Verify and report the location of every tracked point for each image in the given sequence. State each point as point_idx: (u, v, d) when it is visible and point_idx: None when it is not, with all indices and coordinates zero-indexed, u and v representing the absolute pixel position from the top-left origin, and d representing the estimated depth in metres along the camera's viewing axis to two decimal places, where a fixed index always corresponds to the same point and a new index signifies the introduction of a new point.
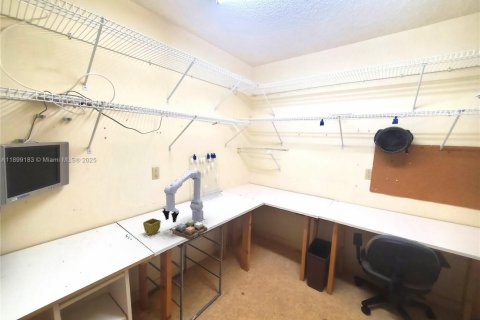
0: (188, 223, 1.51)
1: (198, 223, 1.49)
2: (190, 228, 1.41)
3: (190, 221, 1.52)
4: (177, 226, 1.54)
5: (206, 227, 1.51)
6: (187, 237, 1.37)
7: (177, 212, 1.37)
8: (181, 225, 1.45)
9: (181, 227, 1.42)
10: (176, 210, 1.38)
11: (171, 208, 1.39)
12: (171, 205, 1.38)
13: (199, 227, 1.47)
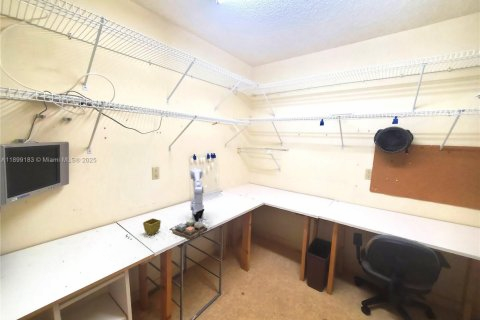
0: (188, 223, 1.51)
1: (198, 223, 1.49)
2: (190, 228, 1.41)
3: (190, 221, 1.52)
4: (177, 226, 1.54)
5: (206, 227, 1.51)
6: (187, 237, 1.37)
7: (193, 213, 1.41)
8: (181, 225, 1.45)
9: (181, 227, 1.42)
10: (194, 211, 1.42)
11: (195, 208, 1.45)
12: (195, 205, 1.45)
13: (199, 227, 1.47)
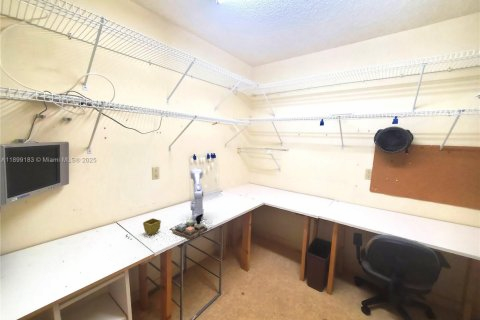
0: (188, 223, 1.51)
1: None
2: (190, 228, 1.41)
3: (190, 221, 1.52)
4: (177, 226, 1.54)
5: (206, 227, 1.51)
6: (187, 237, 1.37)
7: (193, 217, 1.41)
8: (181, 225, 1.45)
9: (181, 227, 1.42)
10: (194, 215, 1.42)
11: (195, 212, 1.46)
12: (195, 209, 1.46)
13: (199, 227, 1.47)
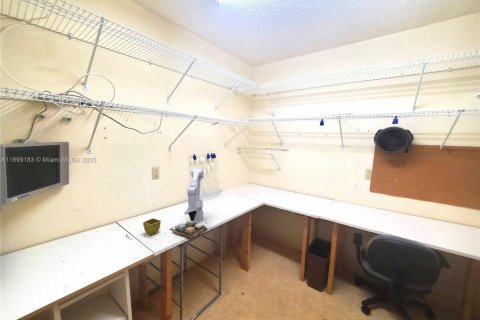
0: (188, 223, 1.51)
1: (198, 224, 1.49)
2: (190, 228, 1.41)
3: (190, 221, 1.52)
4: (177, 226, 1.54)
5: (206, 227, 1.51)
6: (187, 237, 1.37)
7: (185, 213, 1.40)
8: (181, 225, 1.45)
9: (181, 227, 1.42)
10: (186, 211, 1.41)
11: (188, 208, 1.44)
12: (188, 205, 1.44)
13: None
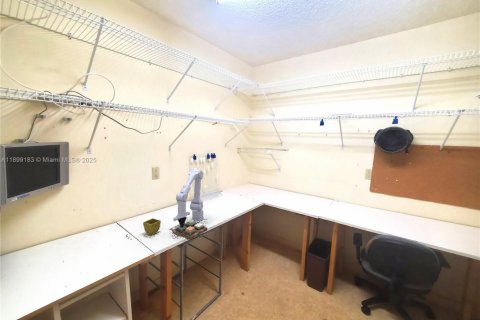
0: (188, 223, 1.51)
1: (198, 224, 1.49)
2: (190, 228, 1.41)
3: (190, 221, 1.52)
4: (177, 226, 1.54)
5: (206, 227, 1.51)
6: (187, 237, 1.37)
7: (174, 220, 1.38)
8: None
9: (181, 228, 1.42)
10: (175, 218, 1.39)
11: (178, 214, 1.43)
12: (178, 211, 1.42)
13: None
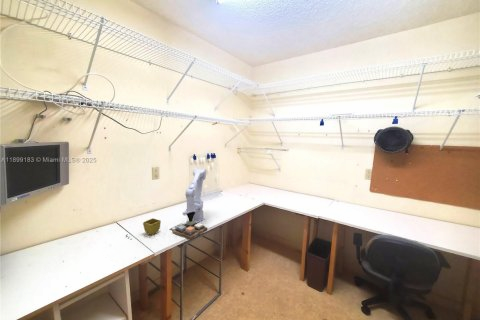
0: (188, 223, 1.51)
1: (198, 224, 1.49)
2: (190, 228, 1.41)
3: None
4: (177, 226, 1.54)
5: (206, 227, 1.51)
6: (187, 237, 1.37)
7: (183, 214, 1.46)
8: (181, 226, 1.45)
9: (181, 228, 1.42)
10: (184, 212, 1.47)
11: (187, 209, 1.50)
12: (187, 206, 1.50)
13: None
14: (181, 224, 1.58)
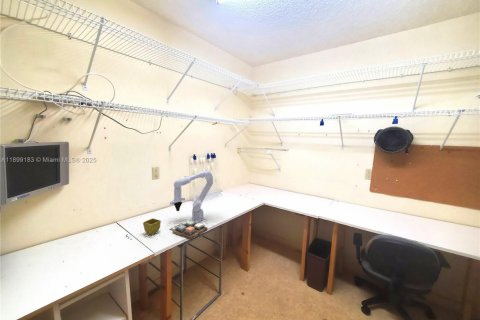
0: (188, 224, 1.51)
1: (198, 224, 1.49)
2: (190, 228, 1.41)
3: (190, 222, 1.52)
4: (177, 226, 1.54)
5: (206, 227, 1.51)
6: (187, 237, 1.37)
7: (170, 204, 1.56)
8: (181, 226, 1.45)
9: (181, 228, 1.42)
10: (171, 202, 1.56)
11: (174, 199, 1.60)
12: (174, 196, 1.60)
13: None
14: (181, 224, 1.58)
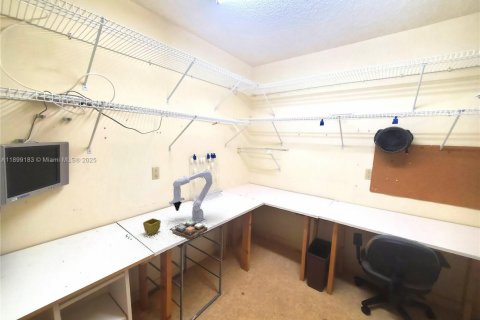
0: (188, 224, 1.51)
1: (198, 224, 1.49)
2: (190, 228, 1.41)
3: (190, 222, 1.52)
4: (177, 226, 1.54)
5: (206, 227, 1.51)
6: (187, 237, 1.37)
7: (170, 203, 1.56)
8: (181, 226, 1.45)
9: (181, 228, 1.42)
10: (171, 201, 1.57)
11: (173, 199, 1.61)
12: None
13: None
14: (181, 224, 1.58)
